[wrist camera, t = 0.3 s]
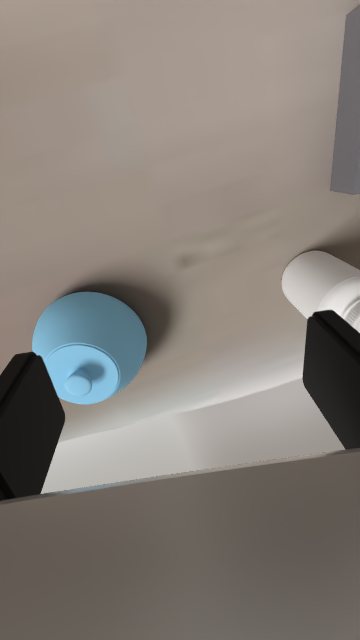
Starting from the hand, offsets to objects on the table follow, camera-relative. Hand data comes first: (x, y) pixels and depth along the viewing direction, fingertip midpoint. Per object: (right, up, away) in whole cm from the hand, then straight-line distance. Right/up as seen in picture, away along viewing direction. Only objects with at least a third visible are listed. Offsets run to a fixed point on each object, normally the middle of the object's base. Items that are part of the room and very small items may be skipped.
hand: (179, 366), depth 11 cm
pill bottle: (+18, +8, +32) cm, 38 cm away
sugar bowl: (-12, 0, +34) cm, 36 cm away
